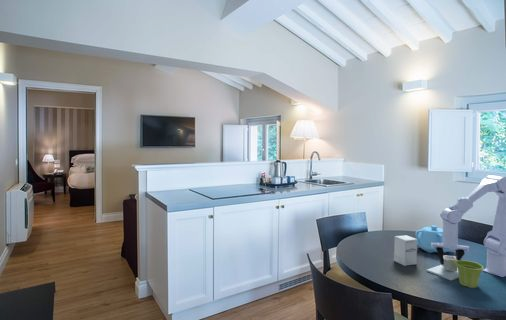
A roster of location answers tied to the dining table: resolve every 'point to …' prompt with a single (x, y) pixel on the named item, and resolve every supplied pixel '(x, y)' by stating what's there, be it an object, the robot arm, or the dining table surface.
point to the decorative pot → (429, 238)
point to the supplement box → (405, 250)
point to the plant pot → (469, 273)
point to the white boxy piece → (449, 263)
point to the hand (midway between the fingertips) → (449, 264)
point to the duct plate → (444, 272)
